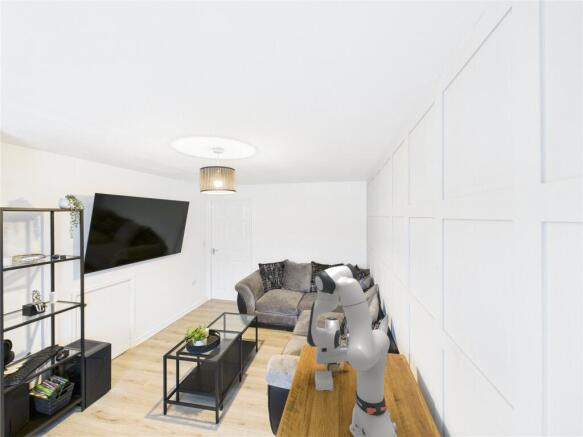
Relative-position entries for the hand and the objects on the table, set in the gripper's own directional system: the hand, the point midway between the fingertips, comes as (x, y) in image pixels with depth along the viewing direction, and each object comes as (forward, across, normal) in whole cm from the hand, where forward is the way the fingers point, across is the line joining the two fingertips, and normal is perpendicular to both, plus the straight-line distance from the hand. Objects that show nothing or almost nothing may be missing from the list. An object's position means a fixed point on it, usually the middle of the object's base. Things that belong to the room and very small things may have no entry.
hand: (332, 369), depth 143 cm
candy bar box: (+2, -18, -9) cm, 20 cm away
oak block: (+2, 0, 0) cm, 2 cm away
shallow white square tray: (+2, +8, +9) cm, 12 cm away
